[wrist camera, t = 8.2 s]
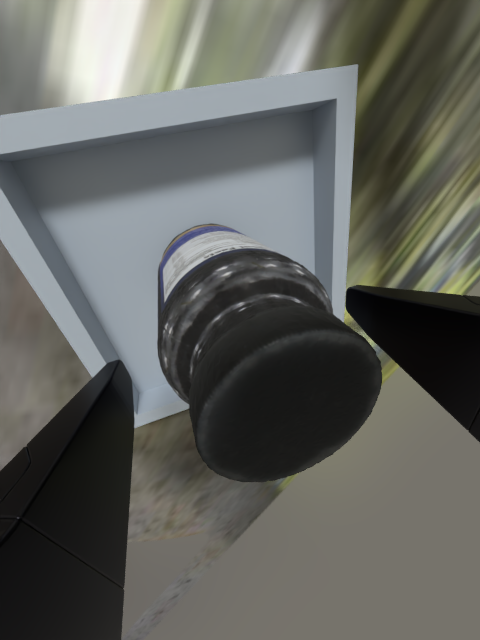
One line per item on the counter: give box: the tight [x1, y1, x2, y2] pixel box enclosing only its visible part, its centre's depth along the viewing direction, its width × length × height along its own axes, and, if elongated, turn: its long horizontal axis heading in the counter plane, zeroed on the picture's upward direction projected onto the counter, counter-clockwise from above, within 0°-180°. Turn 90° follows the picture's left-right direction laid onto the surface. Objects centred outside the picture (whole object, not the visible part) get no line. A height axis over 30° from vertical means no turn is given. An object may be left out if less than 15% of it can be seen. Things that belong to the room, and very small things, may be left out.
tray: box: [0, 64, 358, 428], centre depth 14 cm, size 16×16×2 cm
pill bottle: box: [157, 223, 382, 482], centre depth 10 cm, size 6×6×11 cm
